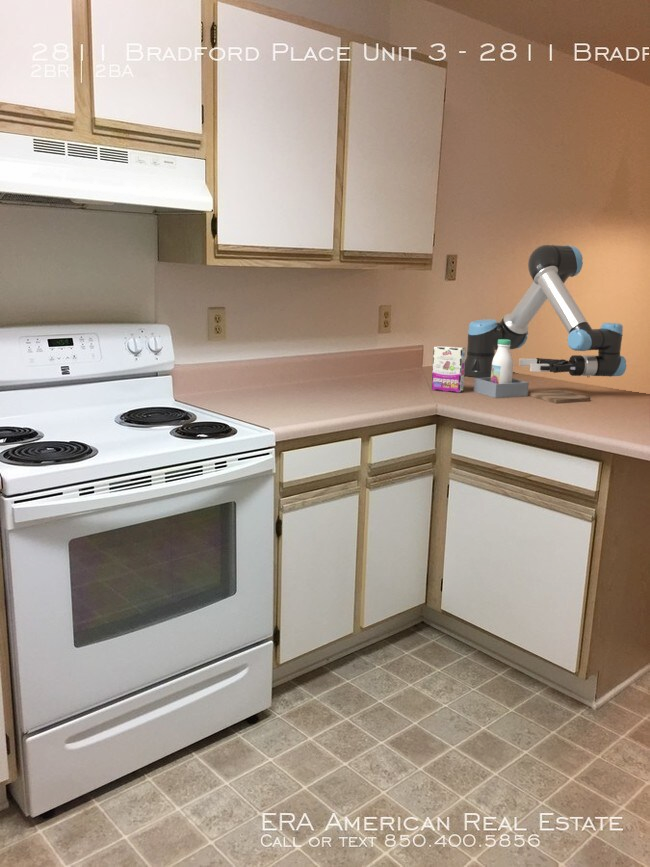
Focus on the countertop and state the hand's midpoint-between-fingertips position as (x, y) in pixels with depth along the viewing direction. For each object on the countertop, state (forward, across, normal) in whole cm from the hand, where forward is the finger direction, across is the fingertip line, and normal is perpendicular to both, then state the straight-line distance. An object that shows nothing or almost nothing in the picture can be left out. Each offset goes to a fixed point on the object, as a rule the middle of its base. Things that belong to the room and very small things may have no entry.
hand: (524, 364), depth 267 cm
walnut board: (-11, -8, -11) cm, 17 cm away
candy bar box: (+27, +5, -11) cm, 30 cm away
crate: (+8, 0, -11) cm, 14 cm away
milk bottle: (+8, 0, -11) cm, 14 cm away
